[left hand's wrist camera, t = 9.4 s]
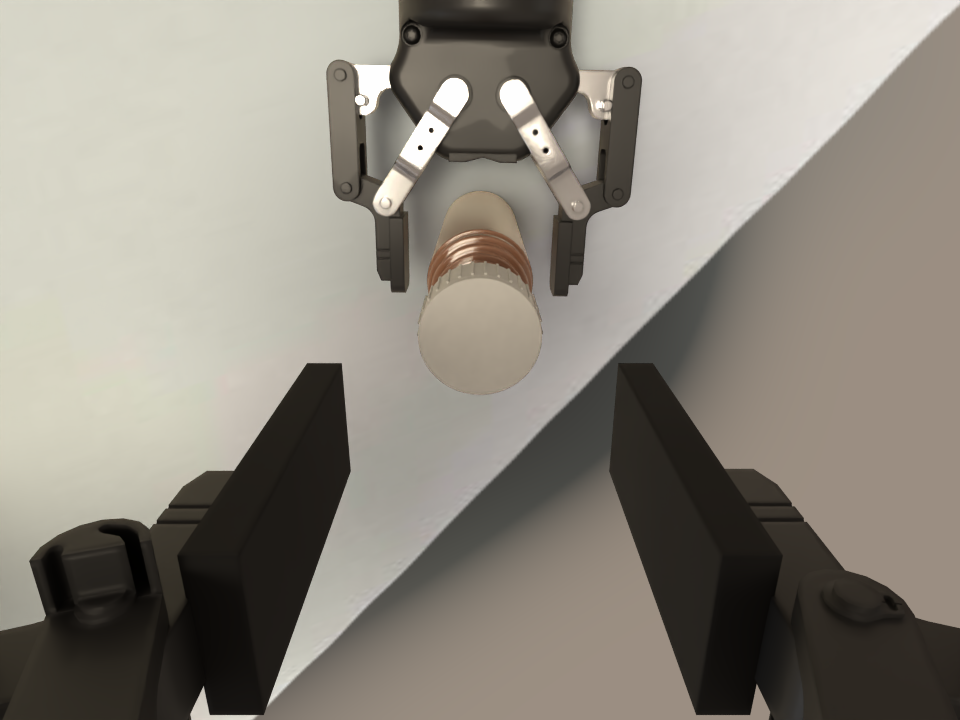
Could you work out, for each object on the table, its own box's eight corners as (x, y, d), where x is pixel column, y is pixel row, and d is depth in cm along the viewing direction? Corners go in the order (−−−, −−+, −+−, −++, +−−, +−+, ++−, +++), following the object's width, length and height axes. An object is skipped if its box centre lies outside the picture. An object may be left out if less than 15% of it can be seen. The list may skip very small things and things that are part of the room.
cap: (431, 377, 22) (426, 403, 20) (413, 267, 21) (407, 284, 19) (542, 364, 22) (548, 389, 20) (532, 253, 21) (537, 268, 19)
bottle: (448, 268, 39) (422, 403, 21) (438, 195, 37) (400, 275, 19) (519, 259, 39) (554, 389, 21) (512, 186, 37) (542, 258, 19)
